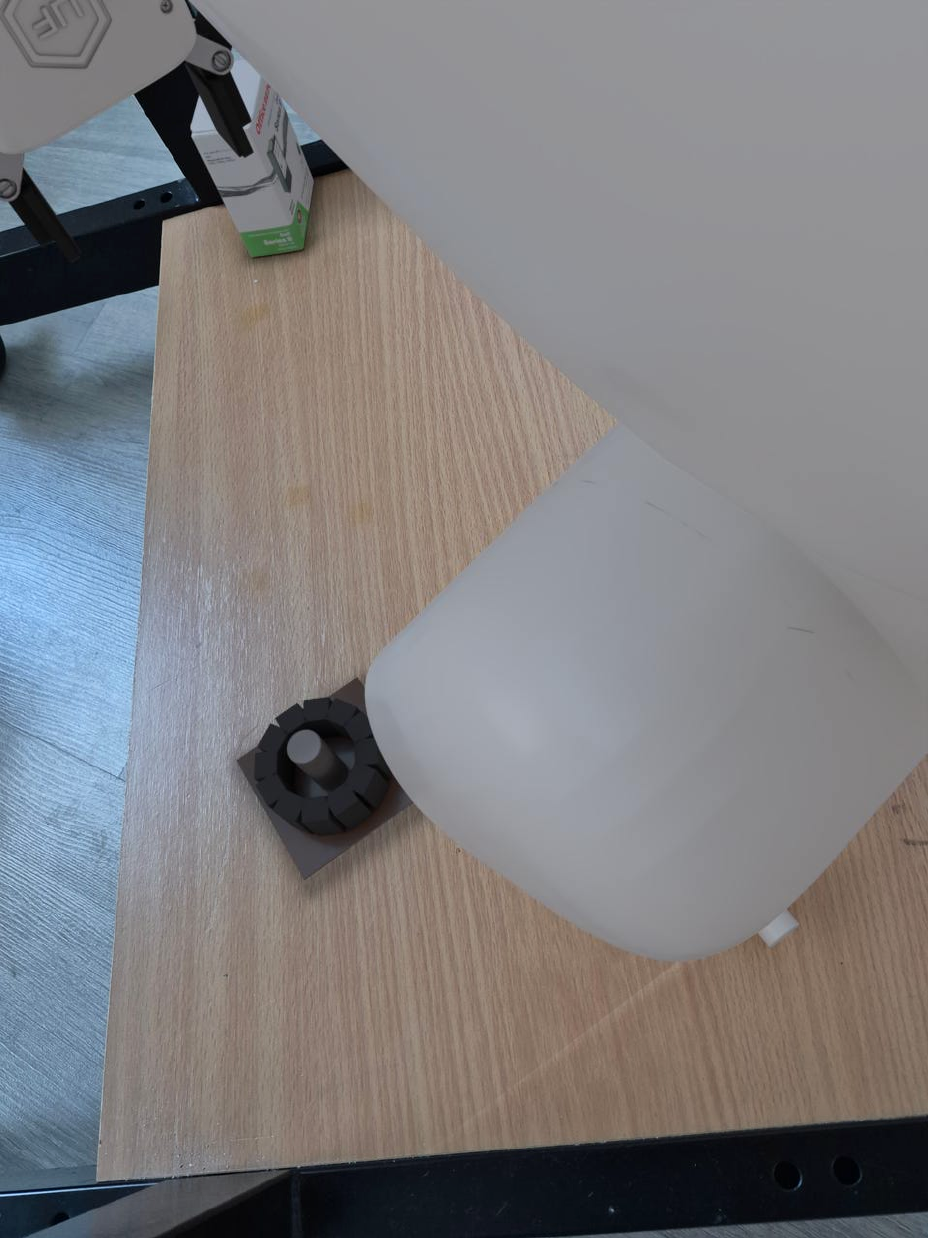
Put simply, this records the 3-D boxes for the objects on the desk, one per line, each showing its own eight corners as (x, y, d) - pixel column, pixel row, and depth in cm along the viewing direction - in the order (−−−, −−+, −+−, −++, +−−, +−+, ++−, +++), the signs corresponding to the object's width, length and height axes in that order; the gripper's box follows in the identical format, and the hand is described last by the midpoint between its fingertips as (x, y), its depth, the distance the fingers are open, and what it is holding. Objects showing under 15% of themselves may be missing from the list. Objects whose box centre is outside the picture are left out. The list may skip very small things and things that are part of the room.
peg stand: (438, 795, 60) (412, 760, 54) (312, 885, 59) (272, 860, 53) (363, 685, 64) (332, 642, 58) (245, 768, 63) (201, 732, 57)
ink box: (305, 252, 83) (250, 127, 73) (248, 259, 84) (186, 137, 74) (316, 179, 87) (265, 50, 76) (262, 186, 88) (205, 60, 77)
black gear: (414, 785, 59) (401, 769, 56) (309, 860, 58) (291, 848, 55) (352, 693, 62) (337, 674, 60) (252, 762, 61) (232, 746, 59)
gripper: (-296, -51, 32) (23, 330, 47) (174, -308, 33) (336, 139, 48) (-329, -132, 35) (-24, 245, 50) (95, -360, 37) (269, 71, 52)
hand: (152, 193), depth 49 cm, fingers open, 9 cm apart
